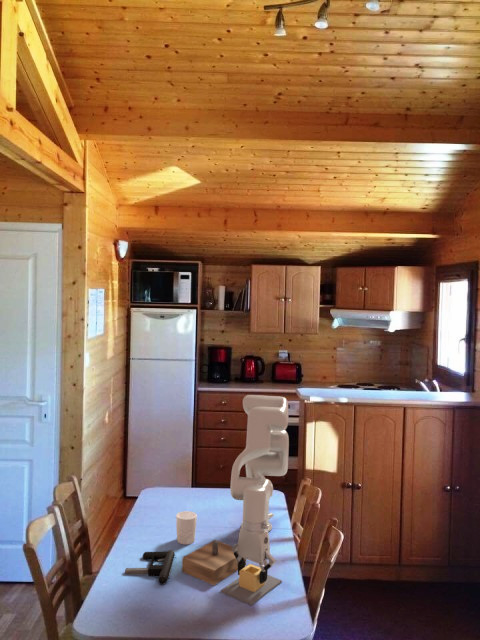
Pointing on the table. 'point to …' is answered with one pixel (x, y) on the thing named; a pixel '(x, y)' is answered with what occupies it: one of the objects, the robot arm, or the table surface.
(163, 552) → the door handle
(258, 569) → the collar
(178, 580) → the table surface
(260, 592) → the mat
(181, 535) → the white cup
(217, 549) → the stand
